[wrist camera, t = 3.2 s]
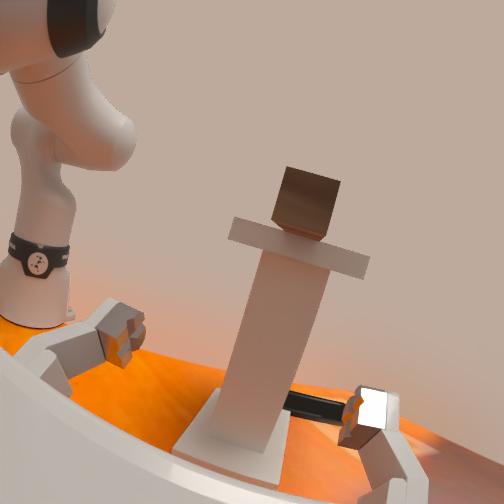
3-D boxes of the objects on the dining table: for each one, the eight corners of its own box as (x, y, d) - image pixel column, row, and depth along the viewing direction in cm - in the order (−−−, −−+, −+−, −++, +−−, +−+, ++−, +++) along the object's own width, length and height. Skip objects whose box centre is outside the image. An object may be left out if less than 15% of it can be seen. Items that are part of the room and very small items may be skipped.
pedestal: (275, 490, 27) (370, 256, 26) (170, 454, 29) (234, 216, 28) (288, 416, 45) (345, 254, 43) (215, 392, 47) (263, 230, 45)
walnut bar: (325, 235, 17) (340, 181, 16) (271, 219, 17) (286, 166, 17) (315, 245, 42) (321, 223, 42) (293, 238, 43) (299, 216, 42)
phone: (268, 384, 53) (346, 403, 52) (266, 389, 53) (344, 408, 52) (266, 405, 45) (355, 424, 44) (264, 411, 46) (352, 430, 44)
